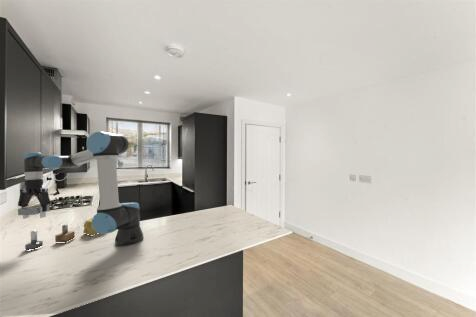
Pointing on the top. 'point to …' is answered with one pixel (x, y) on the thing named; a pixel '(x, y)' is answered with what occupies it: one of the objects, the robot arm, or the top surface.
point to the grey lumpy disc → (31, 210)
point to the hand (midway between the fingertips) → (34, 217)
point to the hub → (33, 241)
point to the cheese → (89, 228)
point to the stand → (64, 235)
